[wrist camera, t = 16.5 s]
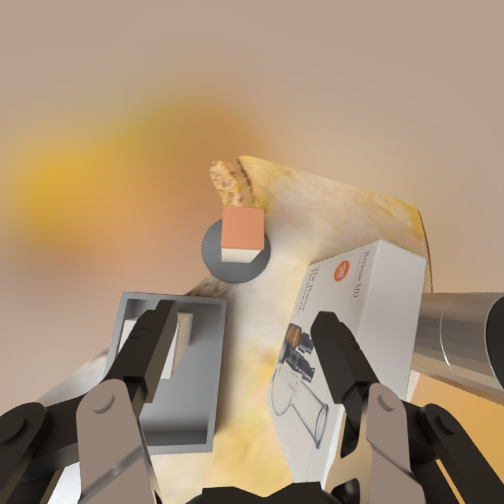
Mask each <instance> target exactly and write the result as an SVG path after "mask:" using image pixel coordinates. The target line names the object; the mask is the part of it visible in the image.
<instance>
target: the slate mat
mask: <svg viewBox="0 0 504 504" xmlns="http://www.w3.org/2000/svg"><path fill="white" fill-rule="evenodd" d="M221 236H222V219H221V220H219V221H217V222H216V223H214V224H213V225H212V226H211V227H210V228H209V229H208V231H207V232H206V234H205V236H204V238H203V242H202V257H203V260H204V263H205V265H206V266H207V268H208V269H209V271H210V272H211V273H212V274H213V275H214V276H216V277H217V278H219V279H221V280H223V281H226V282H230V283H242V282H246V281H249V280H251V279H253V278H255V277H256V276H258V275H259V274H260V273H261V272H262V271H263V269H264V268H265V266H266V265H267V262H268V259H269V255H270V246H269V241H268V238H267V236H266V234H265V232H264V249H263V250H261V251H260V252H259V254H258V255H257V256H256V257H255V258H254V259H253V260H252V261H251V262H250V263H242V262H222V248H221Z"/></svg>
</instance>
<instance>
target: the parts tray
mask: <svg viewBox="0 0 504 504" xmlns="http://www.w3.org/2000/svg"><path fill="white" fill-rule="evenodd" d="M161 299H163V300H176V302H177V312H189V313H194V315H193V322H192V329H191V337H190V344H189V348H188V349H187V351H186V352H185V354H184V356H183V357H182V359H181V360H180V362H179V364H178V365H177V367H176V369H175V370H174V372H173V375H172V376H171V378H170V379H160V381H159V384H158V387H157V390H156V393H155V396H154V399H153V402H152V403H144V406H143V409H142V411H141V414H140V417H139V418H140V422H141V426H142V429H143V433H144V437H145V440H146V444H147V448H148V451H149V455H158V454H181V453H203V452H212V450H213V439H214V429H215V419H216V409H217V398H218V388H219V378H220V368H221V358H222V347H223V337H224V327H225V317H226V307H227V299H226V298H212V297H197V296H183V295H168V294H154V293H139V292H122V296H121V300H120V305H119V309H118V313H117V318H116V322H115V327H114V331H113V335H112V340H111V344H110V349H109V353H108V357H107V362H106V366H105V371H104V375H103V379H104V377H105V376H106V375H107V373H108V371H109V369H110V368H111V366H112V364H113V362H114V360H115V359H116V357H117V355H118V351H119V347H120V342H121V337H122V333H123V328H124V324H125V320H128V319H134V318H138V317H140V316H141V315H142V314H143V313H144V312H145V311H146V310H147V309H150V310H155V309H156V306H157V304H158V302H159V301H160V300H161ZM103 379H102V380H103Z"/></svg>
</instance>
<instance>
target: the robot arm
mask: <svg viewBox="0 0 504 504" xmlns="http://www.w3.org/2000/svg"><path fill="white" fill-rule="evenodd" d="M177 323H178V315H177V302H176V300H163V299H161V300H160V301H159V302H158V304H157V306H156V309H155V310H150V309H147V310H146V311H145V312H144V313H143V314H142V315H141V316H140V317H139V318H138V319H137V321H136V323H135V325H134V326H133V329H132V330H131V332H130V334H129V335H128V338H127V339H126V341H125V343H124V344H123V346H122V348H121V350H120V352H119V353H118V355H117V357H116V359H115V360H114V362H113V364H112V366H111V368H110V369H109V371H108V373H107V375H106V376H105V377H104V379H103V380H102V381H101V382H100V383H99V384H98V385H96V386H95V387H94V388H92V389H91V390H90V391H89V392H87V393H86V394H84V395H82V396H79V397H77V398H74V399H70V400H67V401H64V402H61V403H58V404H54V405H51V406H48V407H44V406H43V405H42V404H40V403H36V402H32V403H26V404H22V405H20V406H17V407H15V408H13V409H11V410H10V411H8V412H6V413H5V414H3V415H2V416H0V504H47V503H48V501H49V499H50V497H51V495H52V493H53V491H54V489H55V487H56V485H57V483H58V481H59V478H60V476H61V474H62V472H63V470H64V468H65V467H67V466H69V465H72V464H74V463H76V462H80V476H81V496H80V498H79V500H78V503H77V504H164V503H163V500H162V496H161V492H160V489H159V485H158V482H157V478H156V475H155V472H154V469H153V466H152V462H151V459H150V455H149V451H148V448H147V444H146V440H145V437H144V433H143V429H142V426H141V422H140V418H139V417H140V414H141V411H142V409H143V406H144V403H152V402H153V399H154V396H155V393H156V390H157V387H158V384H159V381H160V378H161V375H162V372H163V369H164V365H165V362H166V359H167V356H168V353H169V350H170V347H171V344H172V341H173V338H174V335H175V332H176V329H177ZM310 335H311V339H312V342H313V345H314V348H315V351H316V353H317V356H318V359H319V362H320V365H321V368H322V371H323V373H324V376H325V379H326V382H327V385H328V388H329V391H330V393H331V396H332V399H333V402H334V404H343V406H344V408H345V410H344V412H343V417H342V422H341V428H340V433H339V439H338V444H337V450H336V455H335V459H334V461H333V464H332V465H331V467H330V470H329V472H328V476H327V479H326V484H325V489H324V490H323V489H322V487H321V483H320V481H316V482H299V483H292V484H290V485H288V486H286V487H284V488H283V489H281V490H279V491H277V492H275V493H273V494H271V495H270V496H268V497H260V496H258V495H255V494H252V493H250V492H247V491H244V490H242V489H239V488H236V487H234V486H231V487H214V488H203V489H202V494H200V495H198V496H196V497H194V498H193V499H191V500H190V501H188V502H187V503H186V504H459V502H458V500H457V498H456V496H455V495H454V493H453V491H452V489H451V488H450V486H449V484H448V482H447V480H446V479H445V477H444V475H443V474H442V472H441V470H440V468H439V466H438V465H437V463H436V461H435V460H438V459H440V460H441V462H442V464H443V466H444V467H445V469H446V471H447V473H448V474H449V476H450V478H451V479H452V481H453V483H454V485H455V486H456V488H457V490H458V492H459V493H460V495H461V497H462V498H463V500H464V502H465V504H504V484H503V483H502V481H501V480H500V479H499V477H498V476H497V474H496V473H495V472H494V470H493V469H492V468H491V466H490V465H489V463H488V462H487V461H486V459H485V458H484V457H483V455H482V454H481V452H480V451H479V450H478V448H477V447H476V446H475V444H474V443H473V441H472V440H471V438H470V437H469V436H468V434H467V433H466V431H465V430H464V429H463V427H462V426H461V425H460V423H459V422H458V421H457V420H456V419H455V418H454V417H453V416H452V415H451V414H450V413H449V412H448V411H446V410H445V409H444V408H442V407H440V406H438V405H436V404H427V405H425V406H424V407H422V408H421V407H419V406H416V405H413V404H411V403H408V402H406V401H403V400H401V399H399V397H398V396H397V395H396V394H395V393H394V392H393V391H392V390H391V389H390V388H388V387H387V386H385V385H383V384H381V383H380V381H379V380H378V378H377V376H376V374H375V373H374V371H373V369H372V367H371V366H370V364H369V362H368V360H367V358H366V357H365V355H364V353H363V351H362V350H361V349H360V346H359V344H358V343H357V341H356V339H355V337H354V335H353V334H352V332H351V330H350V329H349V328H348V327H347V326H346V325H345V324H344V323H343V322H340V321H339V319H338V317H337V315H336V314H335V313H334V312H330V311H319V312H318V314H317V316H316V318H315V320H314V322H313V324H312V326H311V329H310ZM411 369H412V370H414V371H417V372H419V373H422V374H424V375H427V376H429V377H432V378H434V379H437V380H439V381H442V382H444V383H447V384H449V385H452V386H454V387H457V388H459V389H462V390H464V391H467V392H470V393H472V394H474V395H477V396H479V397H482V398H485V399H487V400H490V401H493V402H495V403H497V404H500V405H503V406H504V293H422V297H421V305H420V311H419V318H418V324H417V330H416V337H415V343H414V349H413V356H412V363H411Z"/></svg>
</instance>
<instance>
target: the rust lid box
mask: <svg viewBox="0 0 504 504" xmlns="http://www.w3.org/2000/svg"><path fill="white" fill-rule="evenodd" d="M221 248H222V262H242V263H250V262H251V261H252V260H253V259H254V258H255V257H256V256H257V255H258V254H259V252H260V251H261V250H263V249H264V209H257V208H246V207H234V206H223V219H222V236H221Z"/></svg>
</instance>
